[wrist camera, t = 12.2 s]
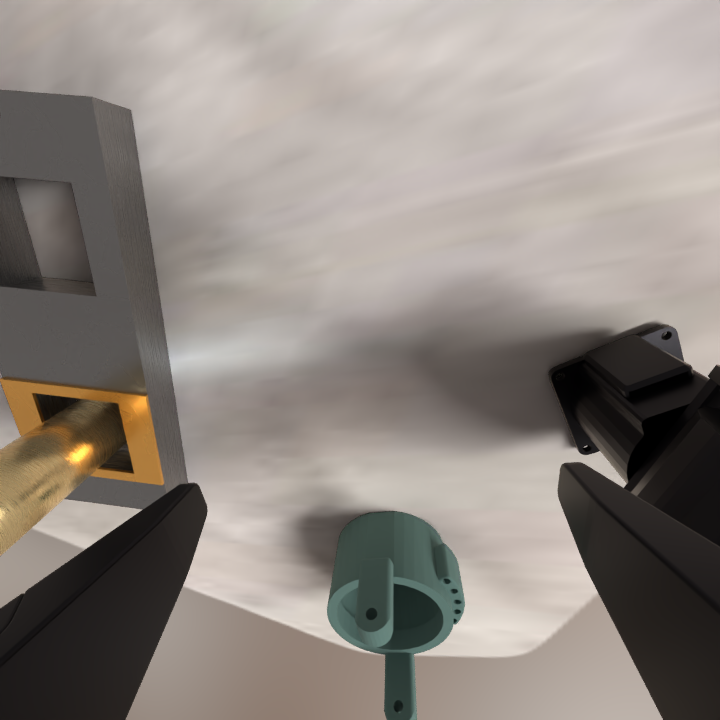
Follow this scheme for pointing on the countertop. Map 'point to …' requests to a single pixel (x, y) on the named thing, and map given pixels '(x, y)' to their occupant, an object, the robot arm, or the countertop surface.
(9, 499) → the brass peg
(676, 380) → the robot arm
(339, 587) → the bracket
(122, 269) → the hole rail
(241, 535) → the countertop surface
